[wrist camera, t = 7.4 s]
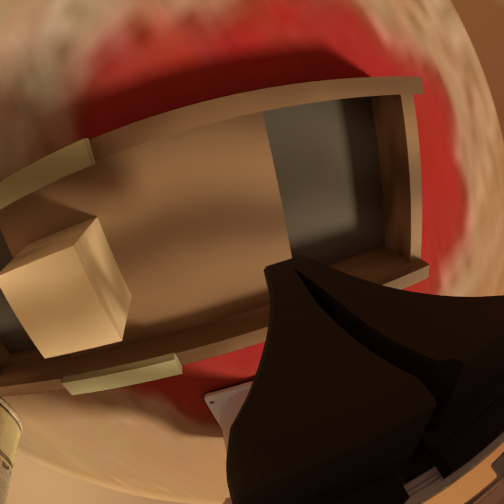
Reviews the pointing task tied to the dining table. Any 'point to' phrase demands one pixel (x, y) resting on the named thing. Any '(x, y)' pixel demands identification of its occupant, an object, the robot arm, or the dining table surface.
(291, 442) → the robot arm
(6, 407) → the coffee can
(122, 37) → the dining table surface
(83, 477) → the dining table surface
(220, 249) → the trap lane
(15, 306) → the birch block
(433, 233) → the dining table surface
